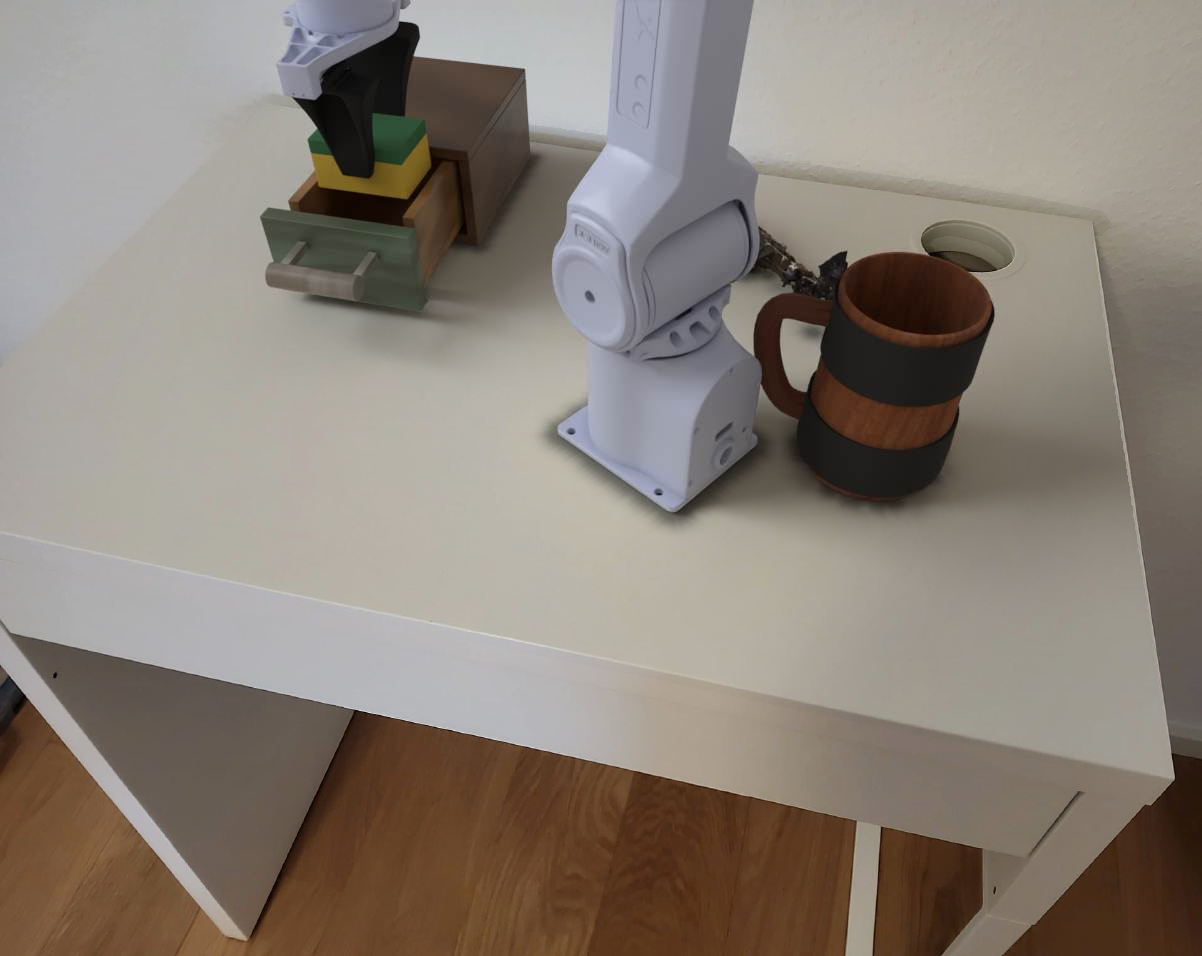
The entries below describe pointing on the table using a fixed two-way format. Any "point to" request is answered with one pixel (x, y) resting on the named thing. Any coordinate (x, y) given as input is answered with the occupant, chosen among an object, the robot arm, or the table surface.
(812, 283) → the airplane wreck
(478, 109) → the cabinet
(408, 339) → the table surface
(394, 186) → the sponge
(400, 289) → the drawer
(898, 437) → the mug
